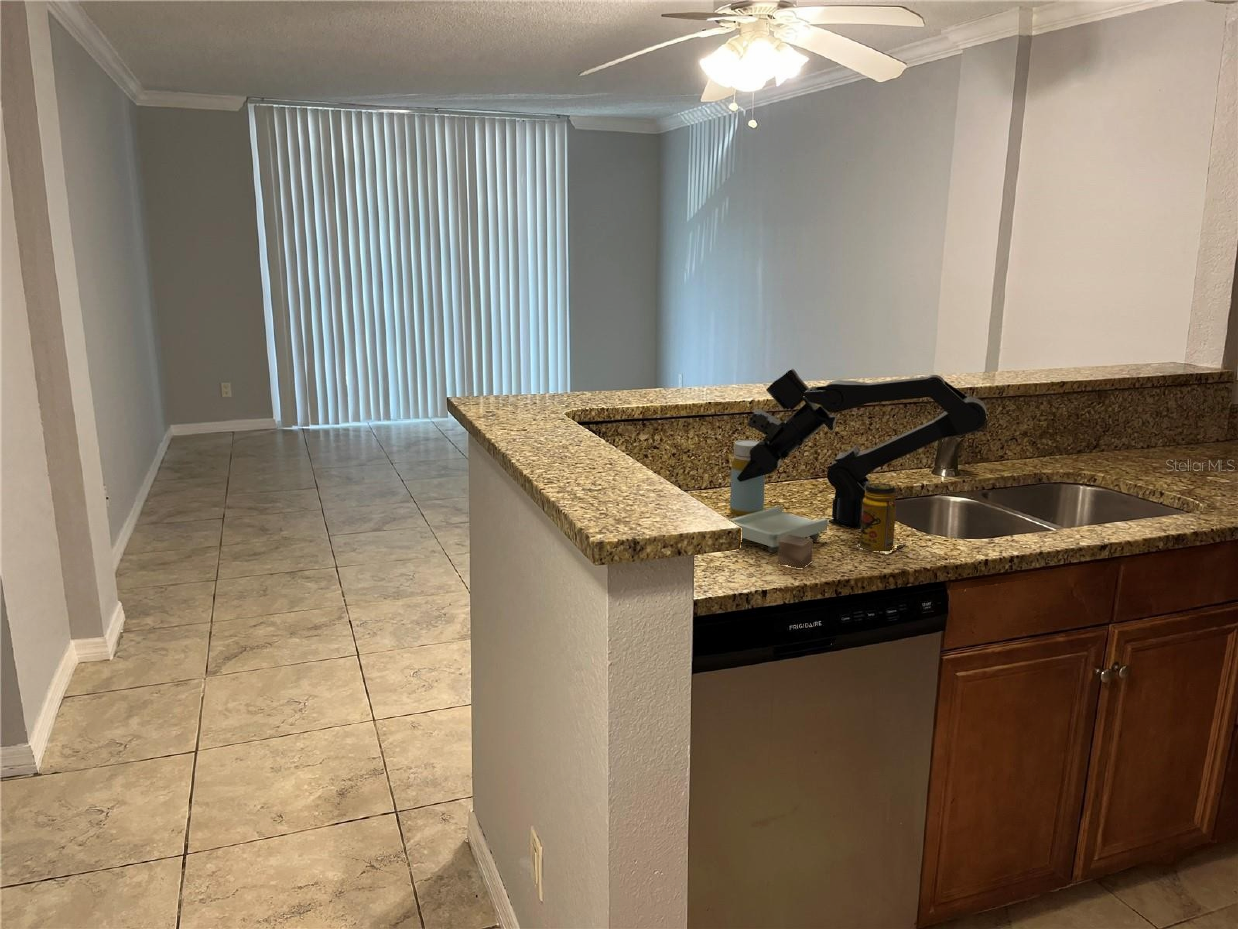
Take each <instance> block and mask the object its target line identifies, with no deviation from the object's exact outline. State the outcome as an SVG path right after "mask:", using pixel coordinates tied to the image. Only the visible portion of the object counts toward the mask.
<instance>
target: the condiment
mask: <svg viewBox="0 0 1238 929" xmlns="http://www.w3.org/2000/svg"><path fill="white" fill-rule="evenodd" d="M895 492H896V488H895V486H894V485H892V484H889V483H886V482H885V483H882V482H870V484H868V485H866V492H865V498H864V499H863V504H862V518H861V528H860V534H859V535H860V536H859V543H857V544H860V546H859V545H858V547H857V546H856V544H854V545H853V546H852V548H854V549H857V550H860V551H865V550H866V551H865V552H869V551H879V552H880V551H890V550H892V548H893V547H892V546H893V542H895V539H894V538H895V528H896V527H895V523H896V513H897V512H896V511H897V501H896V499H895V498H896V494H895ZM899 543H900V544H903V545H899V547H898V546H897V549H898V550H899V549H900V548H903V546H904V547H905V545H906V543H904V542H899ZM860 548H863V550H862V549H860ZM864 549H865V550H864ZM880 554H881V555H886V556H889V555H890V554H885V553H880Z"/></svg>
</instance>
